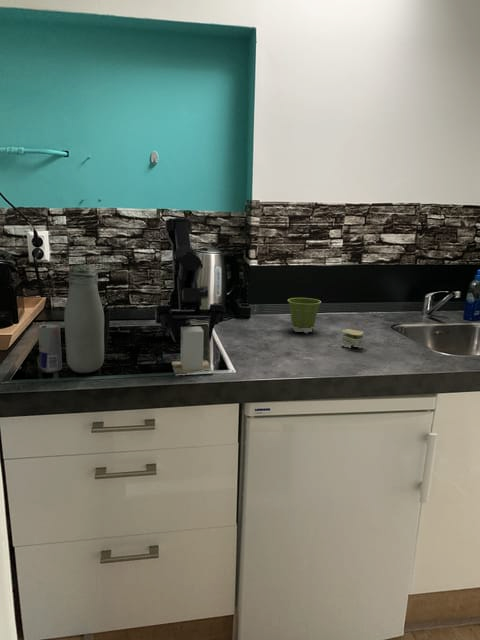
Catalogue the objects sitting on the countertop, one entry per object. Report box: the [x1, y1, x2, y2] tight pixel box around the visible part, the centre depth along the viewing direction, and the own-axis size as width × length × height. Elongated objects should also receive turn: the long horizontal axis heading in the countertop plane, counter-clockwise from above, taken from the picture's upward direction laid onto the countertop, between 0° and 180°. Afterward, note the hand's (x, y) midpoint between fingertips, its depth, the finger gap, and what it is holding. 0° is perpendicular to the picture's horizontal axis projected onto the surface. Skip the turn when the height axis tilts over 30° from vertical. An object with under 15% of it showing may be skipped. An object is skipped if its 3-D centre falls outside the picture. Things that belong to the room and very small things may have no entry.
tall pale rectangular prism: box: [180, 325, 205, 370], centre depth 140 cm, size 5×5×11 cm
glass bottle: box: [63, 265, 105, 374], centre depth 134 cm, size 10×10×28 cm
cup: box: [103, 308, 111, 353], centre depth 155 cm, size 8×8×12 cm
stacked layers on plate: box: [341, 328, 364, 345], centre depth 167 cm, size 10×9×6 cm
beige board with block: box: [171, 359, 213, 376], centre depth 141 cm, size 10×10×4 cm
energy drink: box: [37, 323, 63, 374], centre depth 137 cm, size 5×5×12 cm
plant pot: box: [287, 297, 322, 328], centre depth 184 cm, size 12×12×11 cm
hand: (192, 340), depth 138 cm, fingers open, 9 cm apart
